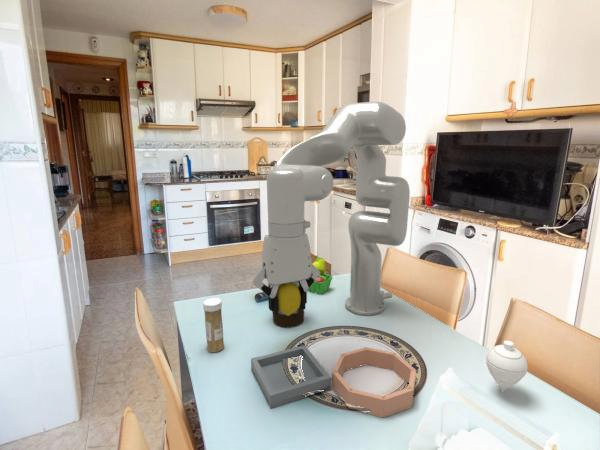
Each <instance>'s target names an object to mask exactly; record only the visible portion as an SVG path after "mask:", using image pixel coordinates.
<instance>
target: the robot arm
mask: <svg viewBox="0 0 600 450" xmlns="http://www.w3.org/2000/svg"><path fill="white" fill-rule="evenodd" d="M406 130H407V127H406V121H405V118H404V116H403V115H402V114H401V113H400V112H399V111H397V110H396V109H395V108H394V107H392V106H391V105H389V104H388V103H384V102H382V101H366V102H365V101H364V102H350V103H345V104H343V105H342V106H340V107H339V108H338V109H337V110H336V111H335V113H334V114H333V115H332V116H331V118H330V120H329V121H328V122H327V123H326V125H325V126H324V127H323V128H322V129H321V130H320V131H319V132H318V133H316V134H315V135H313V136H311V137H309V138H307V139H305V140H303V141H301V142H300V143H298V144H296V145H294V146H293V147H290V149H288V150H286V152H285V153H283V155H282V156H281V157H280V159H279V160H278V161H277V162H276V163H275V165H274V167H273V168H272V169H270V170H269V171H268V173H267V175H266V195H267V196H266V199H267V201H266V202H267V230H268V231H267V234H266V235H264V238H263V243H262V252H261V269H260V271H259V272H258V273H257V275H256V276H255V277H254V278H253V280H252V284H253V286H255V288H258V289H259V290H260V291H262V292H263V293H265V294H266V295H267V296H268V309H269V311H271V312H273V313H274V315H278V314H279V312H278V297H277V296H276V293H277V289H278V286H279V284H285V283H291V282H296V281H297V282H298V285H299V288H298V289H299V291H300V296H301V302H300V306H299V307H300V308H301V309H303V310H304V311H305V310H306V305H307V302H308V300H307V299H308V298H307V297H308V296H307V295H308V292H310V291H309V287H310V286H311V285H312V284H313V282H314V280H315V279H316V278H317V277H318V276H319V275H320V271H319V270H318V269H317V268H316V267H315V266H314V265H313V264H312V263H313V262H312V253H311V246H310V240H309V236H308V234H307V233H306V229H308V228H311V222H310V220H309V221H308V220H307V221H306V219H305V203H306V202H317V201H323V200H324V199H326V198H328V196H329V195H330V194H331V193H332V191H333V188H334V177H333V175H332V172H331V171H330V170H329V169H327V168H326V167H324V166H326V165H327V166H328V165H330V164H334V163H336V162H339V161H342V160H343V159H345V158H346V157H347V156H349V153H350V151H351V150H352V149H353V151H354V153H355V156H356V161H357V166H356V181H355V200H356V202H357V203H358V204H359V205H361V206H364V207H369V208H379V209H388V210H389V213H388V212H381V211H373V210H359V211H355V212H354V213H353V214H351V216H350V217H349V219H348V225H347V226H348V235H349V239H350V240H349V241H350V288H349V291H350V293H349V297H348V298H347V299H346V300H345V302H344V303H345V304H344V306H345V308H346V310H348V311H349V312H351V313H353V314H356V315H362V316H373V315H377V314H380V313H382V312H384V310H385V302H384V301H385V299H392V298H393V293H392V292H391V291H389V292H385V291H384V290H381V285H382V284H381V283H382V282H381V281H382V280H381V279H382V278H381V277H382V253H381V250H380V248H379V246H378V245H385V246H390V247H398V246H401V245H402V244H404V242H405V239H406V237H407V232H408V231H407V230H408V220H409V219H408V218H409V208H410V198H411V197H410V196H411V195H410V193H411V191H410V185H409V183H408V181H407V180H406V178H403V177H401V176H390V175H388V176H387V175H386V173H387V172H386V170H387V158H386V155H385V153H384V151H383V149H382V148H381V147H380V146H395V145H398V144H400V143H401V142H402V141H403V140H404V138H405V136H406V132H407V131H406ZM377 244H378V245H377ZM264 279H265V280H266V281H267V285H266V284H265V283H263V281H264ZM273 313H272V314H273Z"/></svg>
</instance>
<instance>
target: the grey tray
mask: <svg viewBox="0 0 600 450" xmlns="http://www.w3.org/2000/svg"><path fill="white" fill-rule="evenodd" d="M300 355H302V356H303V358H302V359H303V360H302V370H303V373H304V377H305V378H304V379H305V380H306V381H304V382H300V383H298V384H294V385H292V384H291V383H290V381H289V380H288V378H287V377H286V374H285V372H284V370H283V366H282V361H283V359H287V358H291V357H296V356H300ZM250 367H251V368H250V369H251V370H250V371H251V372H252V374H253V375H254V378H255V380H256V382H257V384H258V386H259V389H260V390H261V392H262V394H263V396H264V398H265V401H266V403H267V404H268V407H269V408H270V409H273V408H276V407H279V406H283V405H286V404H290V403H293V402H296V401H300V400H302V399H305V398H307V397H305V395H303V393H306V392H311V391H316V390H324V391H325V392H327V390H328V391H331V390H332V376H331V375H330V374H329V373H328V371H326V369H325V368H324V367H323V365H322V364H321V363H320V361H318V359H317V358H316V356H314V354H313V353H312V352H311V351H310V349H309V348H307V346H306V345H305V344H303V345H300V346H296V347H292V348H289V349H283V350H279V351H277V352H271V353H268V354H265V355H261V356H256V357H253V358H250ZM330 389H331V390H330Z"/></svg>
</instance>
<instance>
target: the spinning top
mask: <svg viewBox="0 0 600 450" xmlns="http://www.w3.org/2000/svg"><path fill="white" fill-rule="evenodd" d="M485 364H486V367H487V369H488V371H489V374H490V375H491V378H493V380H494V382H495V383H496V384H497V386H498V387H499V388H500V389H501V394H503V393H504V391H505V390H507V389H509V388H511V387H513V386H515V385H516V384H517V383H519V382H520V381H521V380H522V379H523V378H524V377H525V376H526V375H527V372H528V362H527V360H526V357H525V356H524V355H523V353H522V352H521V351H520V350H519V349H518V348H516V347H515V343H514V342H513V341H510V340H504V341H503V344H497V345H495V346H493V347H491V348H490V349H489V350H488V351H487V353H486V356H485Z"/></svg>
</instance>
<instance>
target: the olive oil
mask: <svg viewBox="0 0 600 450" xmlns="http://www.w3.org/2000/svg"><path fill="white" fill-rule="evenodd" d="M291 283H294V284H295V285H296V286H297V287H298V288H299V285H298V282H297V281H296V282H291ZM280 285H281V284H279V286H280ZM279 286H278V287H279ZM271 312H272V311H271ZM278 312H279V314H278V315H274V313H273V312H272V322H273V323H274V324H275V326H278V327H281V328H287V329H288V328H295V327H298V326H300V325H301V324H303V322H304V321H305V309H304V310H303V309H301V308H300V307H299V308H298V310H297V311H296V312H294V313H292V314H291V315H289V316H287V315H286V314H283V313H281V312H280V311H279V310H278Z"/></svg>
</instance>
